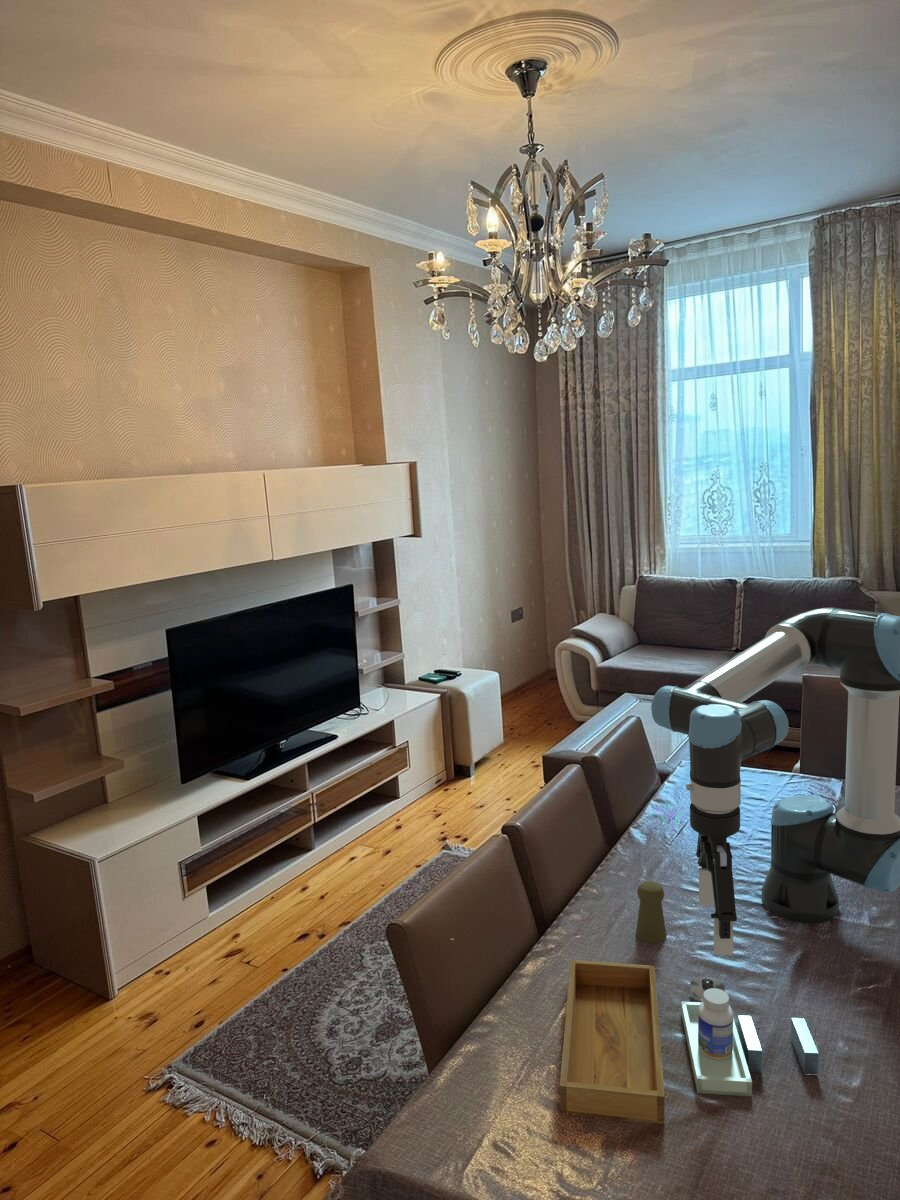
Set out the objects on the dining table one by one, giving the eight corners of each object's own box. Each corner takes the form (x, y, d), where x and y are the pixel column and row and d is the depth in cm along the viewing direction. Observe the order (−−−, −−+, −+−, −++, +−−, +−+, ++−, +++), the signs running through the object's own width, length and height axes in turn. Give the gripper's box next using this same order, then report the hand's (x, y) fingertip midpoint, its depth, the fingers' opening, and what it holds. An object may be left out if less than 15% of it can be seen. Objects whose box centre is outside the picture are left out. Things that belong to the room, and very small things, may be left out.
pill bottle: (692, 1039, 138) (692, 986, 136) (724, 1036, 138) (724, 983, 136) (705, 1063, 132) (705, 1008, 130) (738, 1059, 133) (739, 1004, 131)
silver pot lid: (721, 987, 151) (721, 972, 151) (728, 1009, 145) (728, 993, 145) (687, 985, 152) (687, 970, 152) (692, 1007, 146) (692, 992, 146)
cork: (667, 944, 165) (667, 893, 163) (636, 942, 166) (635, 891, 164) (665, 927, 171) (665, 877, 169) (635, 925, 172) (634, 876, 170)
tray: (664, 1127, 122) (664, 1093, 121) (560, 1116, 125) (559, 1083, 124) (655, 993, 151) (654, 965, 150) (571, 987, 154) (570, 959, 153)
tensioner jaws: (803, 1040, 137) (804, 1018, 136) (817, 1076, 129) (818, 1053, 128) (737, 1036, 138) (738, 1015, 138) (748, 1072, 131) (748, 1049, 130)
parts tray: (729, 1016, 143) (729, 1003, 143) (751, 1096, 126) (752, 1081, 125) (681, 1014, 145) (681, 1001, 144) (697, 1093, 127) (697, 1078, 127)
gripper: (678, 773, 142) (679, 886, 146) (703, 842, 118) (704, 976, 122) (723, 772, 141) (723, 887, 145) (758, 842, 117) (757, 977, 121)
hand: (715, 928), depth 134 cm, fingers open, 13 cm apart
